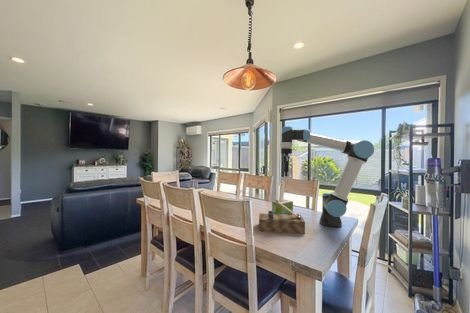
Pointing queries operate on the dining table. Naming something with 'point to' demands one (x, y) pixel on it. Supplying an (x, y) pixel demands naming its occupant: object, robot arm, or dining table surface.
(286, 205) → the tea box
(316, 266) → the dining table surface
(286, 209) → the latch bar
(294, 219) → the walnut chest
